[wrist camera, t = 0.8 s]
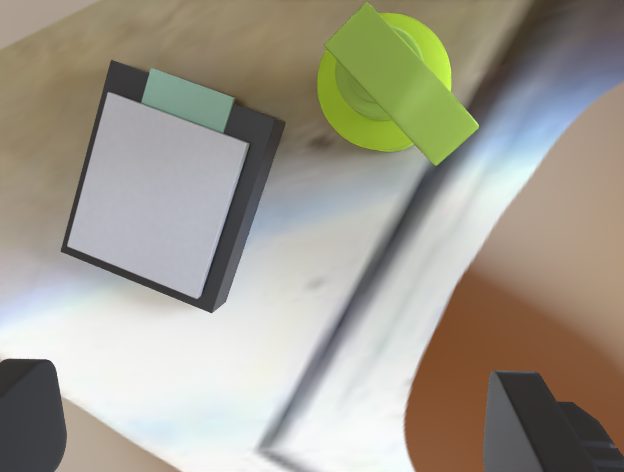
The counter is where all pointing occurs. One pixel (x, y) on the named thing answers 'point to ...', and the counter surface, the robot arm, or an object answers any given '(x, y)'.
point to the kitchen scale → (170, 184)
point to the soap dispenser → (391, 86)
